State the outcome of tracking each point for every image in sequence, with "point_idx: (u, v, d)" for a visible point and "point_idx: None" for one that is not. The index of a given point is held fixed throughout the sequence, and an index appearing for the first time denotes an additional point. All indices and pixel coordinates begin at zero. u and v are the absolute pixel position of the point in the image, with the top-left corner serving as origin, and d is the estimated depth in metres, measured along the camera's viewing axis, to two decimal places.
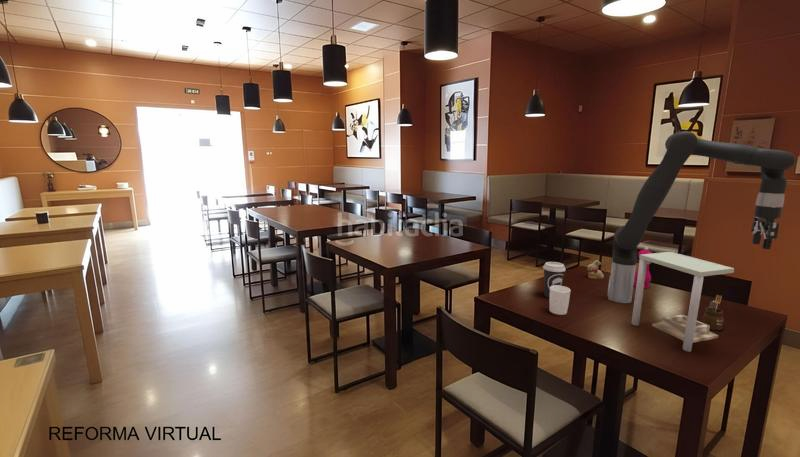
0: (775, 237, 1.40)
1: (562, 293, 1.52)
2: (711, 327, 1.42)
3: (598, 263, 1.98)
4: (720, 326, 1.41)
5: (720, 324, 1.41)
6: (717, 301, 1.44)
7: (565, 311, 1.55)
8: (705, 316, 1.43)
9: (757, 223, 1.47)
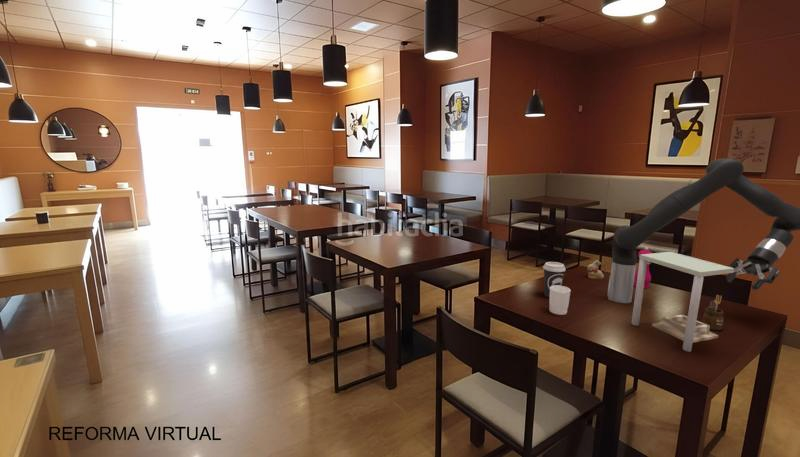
0: (771, 282, 1.38)
1: (562, 293, 1.52)
2: (711, 327, 1.42)
3: (598, 263, 1.98)
4: (720, 326, 1.41)
5: (720, 324, 1.41)
6: (717, 301, 1.44)
7: (565, 311, 1.55)
8: (705, 316, 1.43)
9: (749, 263, 1.45)
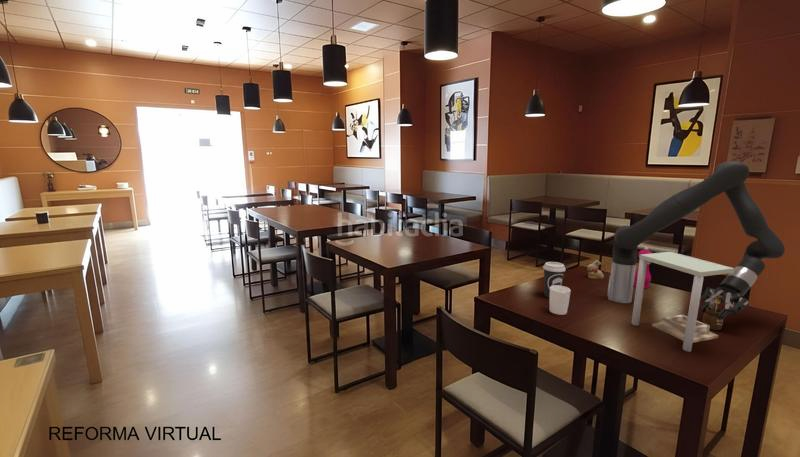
0: (736, 312, 1.38)
1: (562, 293, 1.52)
2: (711, 327, 1.42)
3: (598, 263, 1.98)
4: (720, 326, 1.41)
5: (720, 324, 1.41)
6: (717, 301, 1.44)
7: (565, 311, 1.55)
8: (705, 316, 1.43)
9: (721, 291, 1.43)
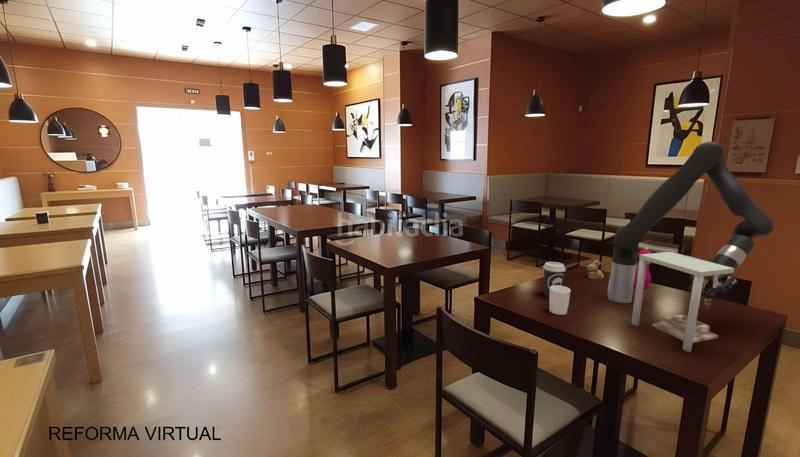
0: (724, 291, 1.34)
1: (562, 293, 1.52)
2: (699, 307, 1.38)
3: (598, 263, 1.98)
4: (708, 306, 1.37)
5: (708, 304, 1.37)
6: (705, 280, 1.40)
7: (565, 311, 1.55)
8: None
9: None
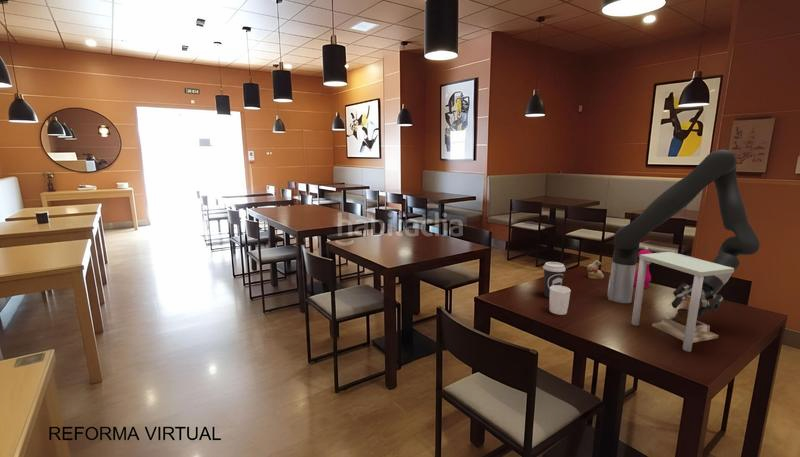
0: (715, 310, 1.32)
1: (562, 293, 1.52)
2: None
3: (598, 263, 1.98)
4: None
5: None
6: (689, 302, 1.40)
7: (565, 311, 1.55)
8: (677, 318, 1.40)
9: None
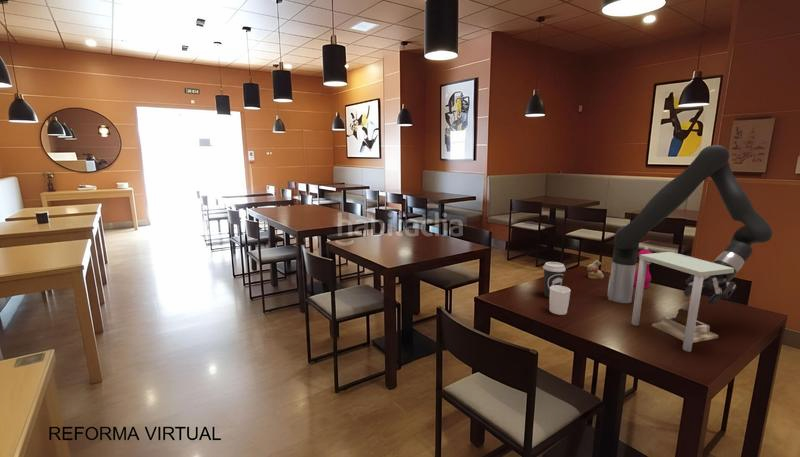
0: (728, 297, 1.33)
1: (562, 293, 1.52)
2: None
3: (598, 263, 1.98)
4: None
5: None
6: None
7: (565, 311, 1.55)
8: (677, 318, 1.39)
9: (707, 277, 1.40)
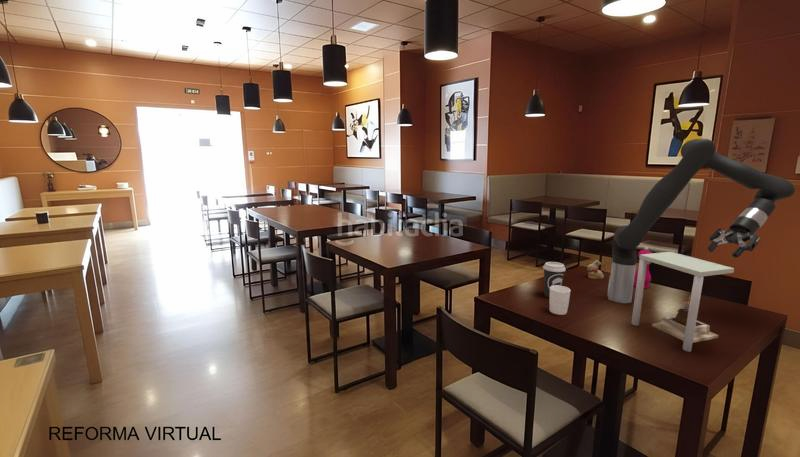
0: (752, 249, 1.38)
1: (562, 293, 1.52)
2: None
3: (598, 263, 1.98)
4: None
5: None
6: None
7: (565, 311, 1.55)
8: (677, 318, 1.39)
9: (731, 232, 1.45)
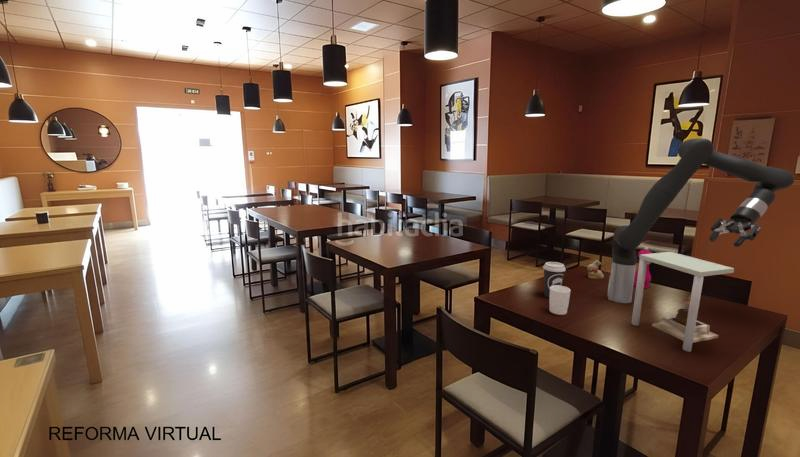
0: (753, 238, 1.40)
1: (562, 293, 1.52)
2: None
3: (598, 263, 1.98)
4: None
5: None
6: None
7: (565, 311, 1.55)
8: (677, 318, 1.39)
9: (732, 222, 1.47)
